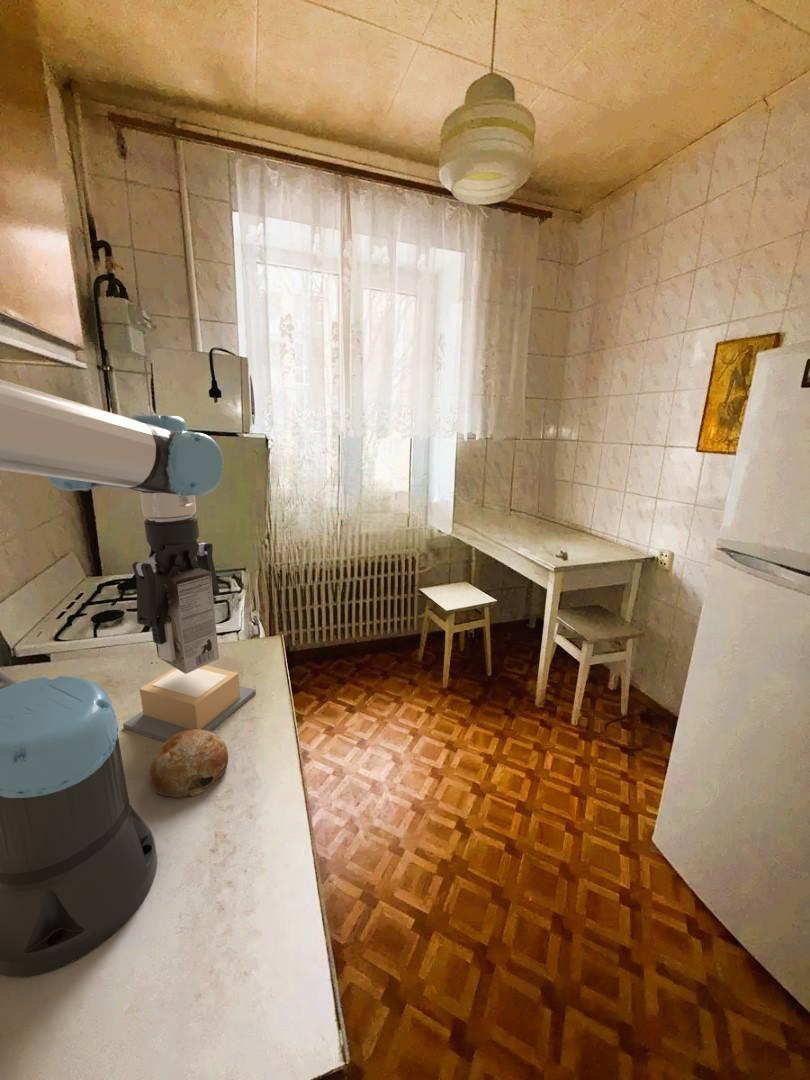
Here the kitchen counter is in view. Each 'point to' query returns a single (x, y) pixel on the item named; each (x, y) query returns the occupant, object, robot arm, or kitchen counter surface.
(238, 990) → the kitchen counter surface
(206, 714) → the base
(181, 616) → the coffee box
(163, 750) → the bread roll
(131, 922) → the kitchen counter surface
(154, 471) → the robot arm
